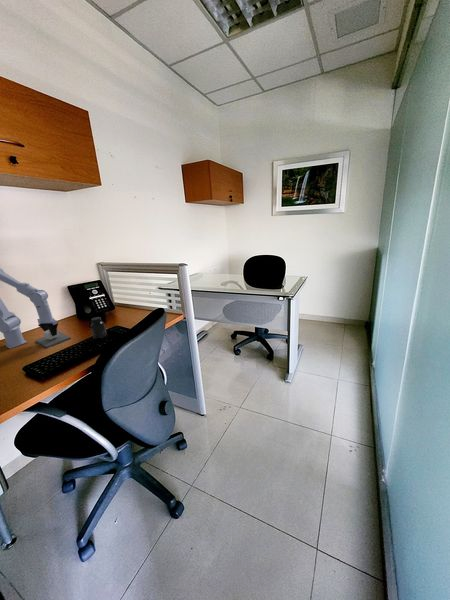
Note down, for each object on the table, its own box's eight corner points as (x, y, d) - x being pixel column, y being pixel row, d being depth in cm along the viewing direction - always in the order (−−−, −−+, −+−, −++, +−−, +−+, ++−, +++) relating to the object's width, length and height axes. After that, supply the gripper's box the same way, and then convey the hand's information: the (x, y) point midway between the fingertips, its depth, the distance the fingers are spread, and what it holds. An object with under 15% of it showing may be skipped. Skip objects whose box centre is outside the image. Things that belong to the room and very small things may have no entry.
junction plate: (35, 341, 135) (33, 333, 134) (59, 333, 145) (56, 325, 143) (47, 348, 126) (44, 339, 125) (70, 338, 136) (68, 330, 134)
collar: (45, 338, 134) (43, 331, 133) (54, 334, 138) (52, 328, 137) (50, 339, 132) (48, 333, 131) (59, 335, 136) (57, 329, 135)
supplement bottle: (108, 338, 132) (103, 318, 129) (94, 342, 129) (88, 322, 125) (106, 334, 138) (102, 315, 134) (93, 337, 135) (88, 318, 131)
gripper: (28, 313, 130) (36, 336, 134) (44, 316, 124) (52, 339, 128) (42, 309, 136) (49, 330, 140) (58, 311, 130) (65, 333, 134)
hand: (51, 334), depth 135 cm, fingers closed on collar, 5 cm apart
